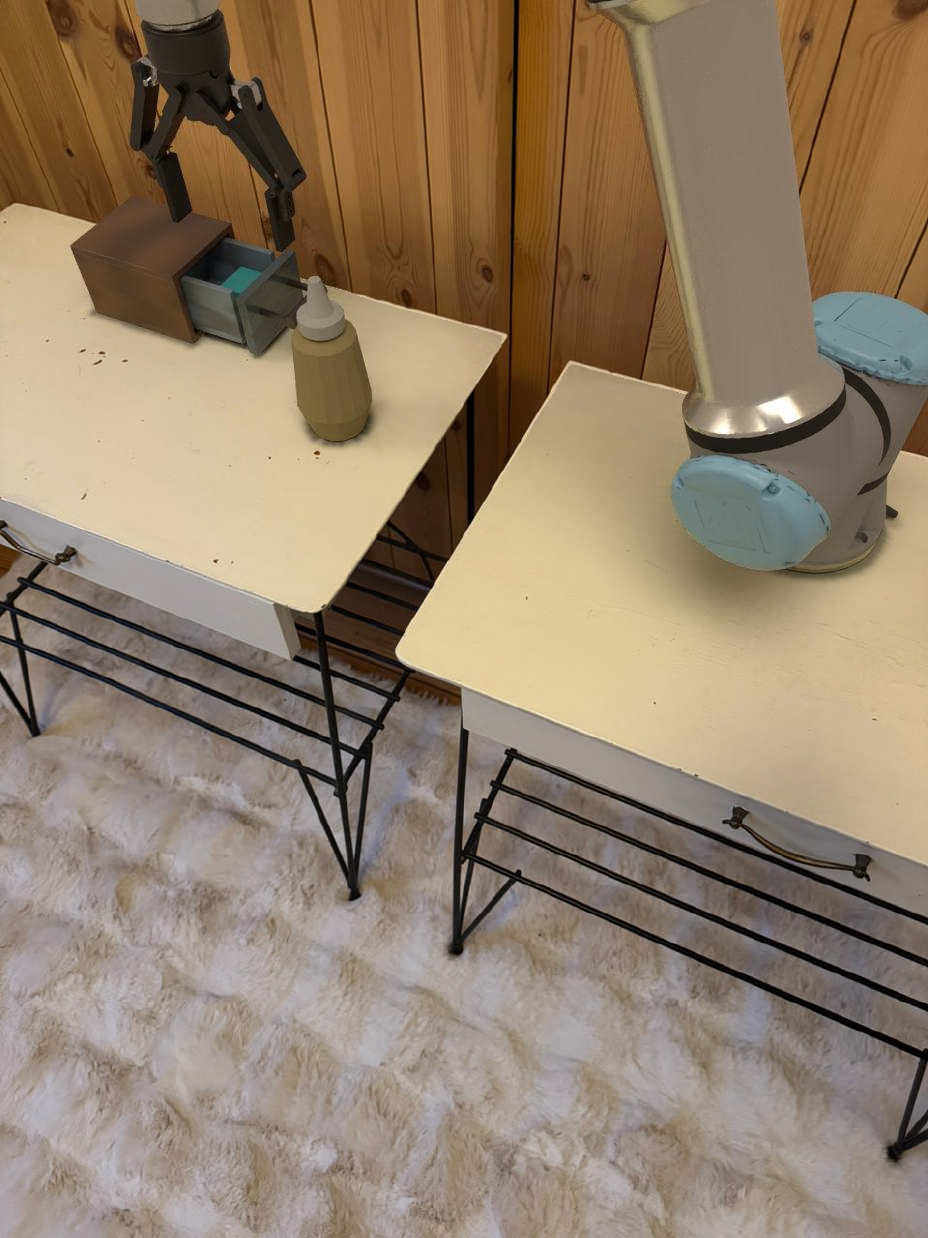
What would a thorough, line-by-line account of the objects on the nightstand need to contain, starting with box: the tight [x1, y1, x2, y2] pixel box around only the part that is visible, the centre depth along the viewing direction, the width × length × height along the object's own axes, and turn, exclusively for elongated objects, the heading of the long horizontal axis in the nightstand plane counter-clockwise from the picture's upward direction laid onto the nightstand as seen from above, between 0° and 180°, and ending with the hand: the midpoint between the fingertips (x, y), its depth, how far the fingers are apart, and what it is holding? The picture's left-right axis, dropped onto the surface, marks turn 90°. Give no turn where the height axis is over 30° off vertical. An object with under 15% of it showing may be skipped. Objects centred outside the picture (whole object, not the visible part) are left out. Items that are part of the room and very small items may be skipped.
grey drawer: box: [178, 237, 329, 356], centre depth 107 cm, size 18×10×7 cm, turn 64°
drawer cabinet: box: [69, 195, 236, 345], centre depth 110 cm, size 15×12×9 cm
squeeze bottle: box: [291, 275, 373, 442], centre depth 93 cm, size 8×8×18 cm
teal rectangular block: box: [220, 267, 261, 298], centre depth 107 cm, size 4×4×4 cm
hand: (233, 230), depth 100 cm, fingers open, 13 cm apart
